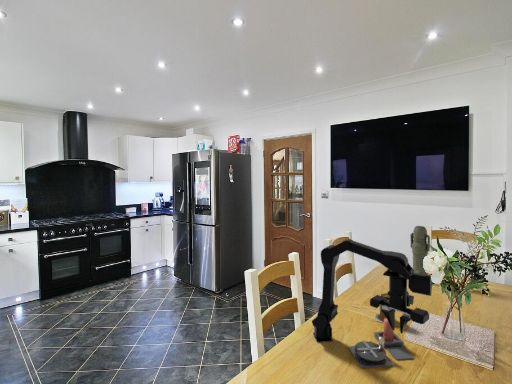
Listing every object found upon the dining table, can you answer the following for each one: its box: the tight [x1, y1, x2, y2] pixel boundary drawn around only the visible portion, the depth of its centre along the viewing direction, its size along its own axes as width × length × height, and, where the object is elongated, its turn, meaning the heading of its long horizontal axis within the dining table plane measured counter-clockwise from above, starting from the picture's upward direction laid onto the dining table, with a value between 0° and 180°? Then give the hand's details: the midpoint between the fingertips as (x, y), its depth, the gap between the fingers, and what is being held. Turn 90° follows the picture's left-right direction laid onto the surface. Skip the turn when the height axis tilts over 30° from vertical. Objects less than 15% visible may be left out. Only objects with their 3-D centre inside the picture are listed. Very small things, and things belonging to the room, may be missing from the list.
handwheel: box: [354, 337, 387, 362], centre depth 106 cm, size 11×11×5 cm
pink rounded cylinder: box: [383, 318, 395, 342], centre depth 116 cm, size 4×4×9 cm
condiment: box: [373, 292, 389, 324], centre depth 134 cm, size 7×8×12 cm
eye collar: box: [373, 331, 405, 349], centre depth 116 cm, size 8×8×2 cm
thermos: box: [409, 225, 431, 275], centre depth 182 cm, size 9×12×35 cm
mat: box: [385, 347, 415, 361], centre depth 108 cm, size 7×7×1 cm
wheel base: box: [347, 345, 395, 369], centre depth 107 cm, size 12×12×1 cm
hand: (397, 331), depth 102 cm, fingers open, 3 cm apart
